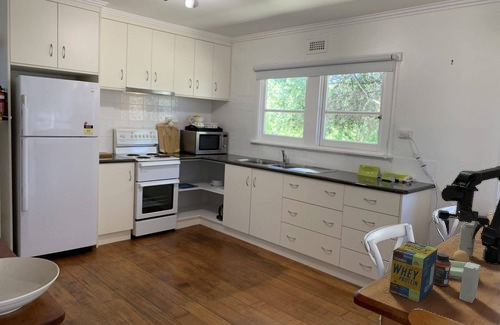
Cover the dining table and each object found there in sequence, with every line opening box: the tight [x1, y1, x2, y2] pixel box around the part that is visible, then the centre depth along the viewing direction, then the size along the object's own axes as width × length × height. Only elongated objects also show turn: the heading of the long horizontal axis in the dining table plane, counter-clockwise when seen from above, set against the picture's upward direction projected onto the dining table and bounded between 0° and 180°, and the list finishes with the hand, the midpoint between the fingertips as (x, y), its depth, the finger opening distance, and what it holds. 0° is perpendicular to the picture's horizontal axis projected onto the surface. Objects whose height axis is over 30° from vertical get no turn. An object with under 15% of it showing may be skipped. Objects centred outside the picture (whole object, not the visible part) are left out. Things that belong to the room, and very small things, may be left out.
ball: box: [452, 250, 470, 263], centre depth 164 cm, size 6×6×6 cm
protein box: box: [388, 240, 438, 303], centre depth 136 cm, size 10×15×16 cm
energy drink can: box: [457, 222, 476, 258], centre depth 174 cm, size 6×6×15 cm
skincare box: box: [458, 262, 481, 304], centre depth 131 cm, size 6×4×12 cm
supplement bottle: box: [433, 252, 451, 287], centre depth 143 cm, size 6×6×11 cm
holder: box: [449, 257, 473, 263], centre depth 164 cm, size 10×10×1 cm
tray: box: [449, 260, 480, 283], centre depth 153 cm, size 12×12×3 cm
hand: (460, 237), depth 161 cm, fingers open, 9 cm apart
